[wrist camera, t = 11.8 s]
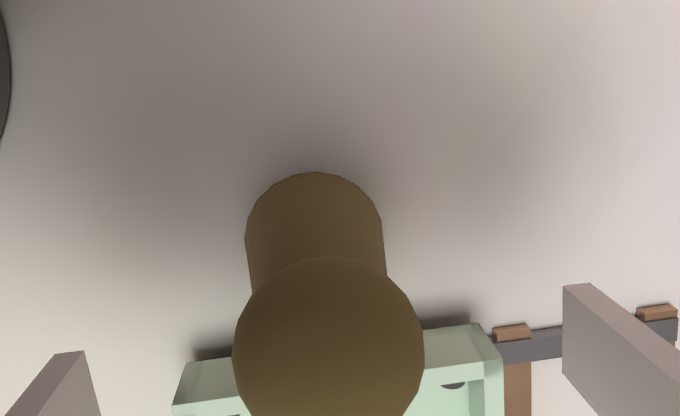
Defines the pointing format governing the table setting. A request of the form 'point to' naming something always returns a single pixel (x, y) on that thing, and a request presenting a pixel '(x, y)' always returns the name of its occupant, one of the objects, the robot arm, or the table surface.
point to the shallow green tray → (424, 411)
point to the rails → (555, 352)
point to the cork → (323, 308)
